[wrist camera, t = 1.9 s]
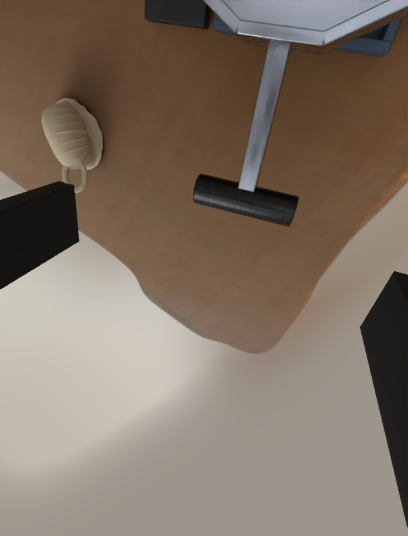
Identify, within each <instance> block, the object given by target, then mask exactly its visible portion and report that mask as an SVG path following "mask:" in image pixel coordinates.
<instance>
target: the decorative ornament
mask: <svg viewBox="0 0 408 536" xmlns="http://www.w3.org/2000/svg"><path fill="white" fill-rule="evenodd" d="M41 119H42V125H43V129H44V132H45V135H46V137H47V140H48V142H49V144H50V146H51V148H52V150H53V153H54V154H55V156H56V157H57V159H58V160H59V162H60V163H61V164H62V165H63V167H62V178H63V181H64V183H67V184H71V183H70V181H69V177H68V172H69V169H81V172H82V183H81V185H80V186H79V187H74V189H75V193H78V192H81V191H83V190H84V189H85V188H86V186H87V183H88V172H87V170H90V169H93V168H94V167H95V166H97V165H98V164H99V161H100V159H101V157H102V154H101V153H102V149H103V144H102V139H103V135H102V132H101V130H100V128H99V126H98V123H97V120H96V119H95V117H94V116H93V115H91V114H90V113H89V112H87V110H86V108H85V107H84V106H82V105H80V104H78V102H77V101H76V100H74V99H69V98H63V99H61V100H59V101H58V102H57V103H56V104H54V105H51V106H49V107H47V108H45V109H44V111H43V113H42V118H41Z"/></svg>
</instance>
